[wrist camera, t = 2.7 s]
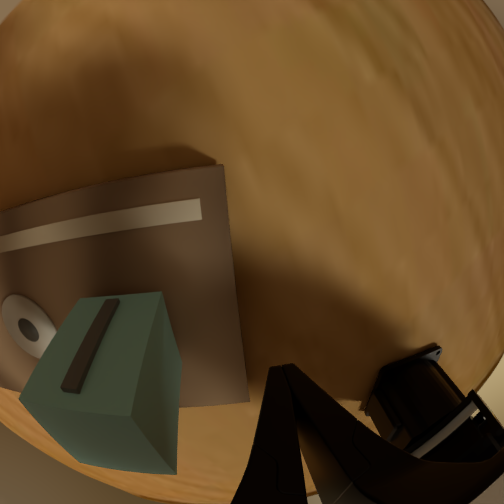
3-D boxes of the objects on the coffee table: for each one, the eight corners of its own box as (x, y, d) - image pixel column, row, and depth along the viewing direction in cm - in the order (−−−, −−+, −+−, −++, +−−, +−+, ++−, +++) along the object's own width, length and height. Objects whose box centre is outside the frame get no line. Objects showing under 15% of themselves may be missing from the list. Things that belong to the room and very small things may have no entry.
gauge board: (222, 163, 11) (229, 177, 6) (247, 387, 16) (260, 457, 11) (-69, 241, 8) (-107, 268, 4) (-8, 374, 13) (-30, 412, 8)
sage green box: (160, 286, 10) (127, 411, 5) (182, 362, 12) (176, 474, 6) (78, 294, 10) (14, 394, 4) (109, 364, 12) (80, 462, 6)
